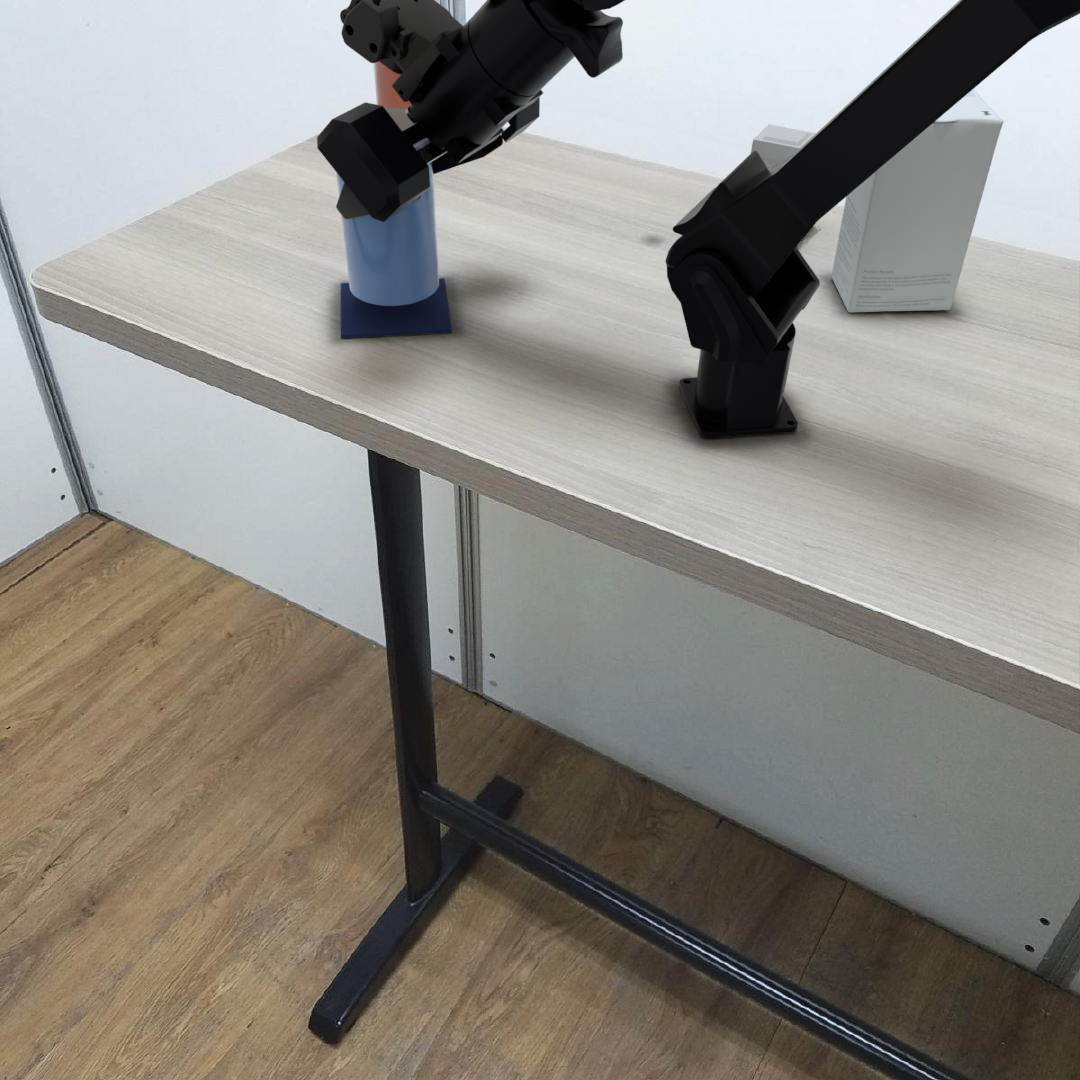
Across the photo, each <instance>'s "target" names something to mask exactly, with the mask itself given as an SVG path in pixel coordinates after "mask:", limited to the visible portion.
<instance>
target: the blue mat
mask: <svg viewBox="0 0 1080 1080" xmlns="http://www.w3.org/2000/svg"><path fill="white" fill-rule="evenodd" d="M446 286H447V285H446V281H445V278H444V277H441V278H440V277H439V286H438V289H437V290H436V291H435V293H434V294H432V295H431V296H430V297H428V298H426V299H424V300H422V301H419V302H416V303H412V304H407V305H400V306H382V305H375V304H370V303H367V302H364V301H362V300H360V299H358V298H357V297H355V296H354V295H353V294H352V292H351V291H350V287H349V282H341V283H340V339H343V340H344V339H362V338H377V337H378V338H379V337H380V338H381V337H396V336H397V337H399V336H415V335H416V336H417V335H434V334H435V335H436V334H452V333H453V328H452V321H451V314H450V308H449V307H450V306H449V301H448V294H447V287H446Z"/></svg>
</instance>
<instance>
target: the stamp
mask: <svg viewBox="0 0 1080 1080" xmlns="http://www.w3.org/2000/svg"><path fill="white" fill-rule="evenodd" d="M816 133H817V132H811V131H806V130H801V129H797V128H792V127H786V126H780V125H776V124H770V123H768V125H766V126H765V127H764V128H763V129H762V130H761V131H760V132H759V133H758V134H757V135H756V136H755V137H754V138H753V139H752V144H751V148H750V149H751V150H750V154H751V153H752V152H753V151H754V150H755V151H757V152H758V154H759V155H760V157H761V159H762V160H763V162H764V163H765V165H766V167H767V168H769V167H771V166H773V165H775V164H777V163H779V162H781V161H782V160H784V159H786V158H788V157H790V156H791V155H793V154H794V153H796V152H797V151H798V150H799V149H800V148H801V147H802V146H803V145H804V144H805V143H807V142H808V141H809V140H810V139H811V138H812V137H813V136H814V135H815V134H816Z"/></svg>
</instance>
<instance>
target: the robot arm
mask: <svg viewBox="0 0 1080 1080" xmlns="http://www.w3.org/2000/svg"><path fill="white" fill-rule="evenodd" d="M625 1H626V0H485V2H484V3H483V4H482V5H481V6H480V7H479V9H477V11H476V12H475V13H474V14H473V15H472V17H470V19H468V20H467V22H466V23H465V24H462V23H460V22H459V21H458V20H457V19H456V18H454V17H453V16H452V13H451V12H450V11H449V10H448V9H447V8H445V7H444V6H443V5H441V4H440V3H439V2H437V1H436V0H350V3H349V5H348V6H347V7H346V8H344V9H342V10H340V13H339V18H340V19H339V20H340V21H341V23H342V28H341V32H340V33H341V37H342V40H343V42H344V44H345V45H346V46H347V47H349V48H350V49H351V50H352V51H354V52H355V53H357V54H358V55H359V56H360V57H361V58H363V59H364V60H366V61H367V62H368V63H370V64H374V63H375V62H378V61H379V62H380V63H382V64H383V65H384V66H386V67H387V68H388V69H390V70H391V71H393V72H395V73H397V74H400V75H401V76H400V77H399V78H398V79H397V80H396V81H395V82H394V84H393V85H392V87H393V88H394V90H395V91H396V92H397V94H398V95H399V96H400V98H401V99H402V100H403V101H404V102H407V101H409V102H410V103H411V104H412V105H411V106H410V107H408V108H407V109H406V111H405V113H406V115H407V117H408V118H409V119H410V120H411V121H412V122H413V123H414V125H413V126H411V127H409V128H407V129H405V130H404V131H402V130H401V129H400V128H399V126H398V125H397V124H396V123H395V121H394V120H393V119H392V117H391V116H390V115H389V113H388V112H387V111H386V109H385V108H384V107H383V106H380V105H377V103H370V102H365V101H364V102H363V103H361V104H359V105H357V106H355V107H353V108H351V109H349V110H346V111H345V112H343V113H341V114H340V115H337V116H336V117H334V118H331V120H330V121H329V122H328V123H327V124H326V126H325V127H324V128H323V129H322V131H321V132H320V133H319V134H318V135H317V137H316V145H317V146H316V147H317V150H318V151H319V152H320V154H321V155H322V156H323V157H324V158H325V160H326V161H327V163H328V164H329V165H330V166H331V167H332V168H333V170H334V171H335V173H336V172H337V173H336V175H337V174H338V175H339V176H340V177H341V179H342V180H343V181H344V184H343V187H342V190H341V193H340V196H339V195H338V199H337V202H336V205H335V208H336V210H337V211H338V212H339V214H340V216H341V215H342V216H343V217H344V218H345V219H352V218H357V217H362V216H366V215H370V216H371V217H372V218H374V219H376V220H379V221H382V222H385V221H386V220H388V219H389V218H391V217H393V216H394V215H396V214H397V213H399V212H400V211H402V210H403V209H405V208H406V207H408V206H409V205H411V204H412V203H414V202H415V201H417V200H418V199H420V198H421V195H422V194H423V193H424V192H425V191H426V190H427V189H428V188H429V187H430V176H429V166H428V164H429V163H430V162H432V161H433V175H435V174H438V173H442V172H444V171H447V170H451V169H453V168H456V167H458V166H462V165H465V164H467V163H471V162H473V161H476V160H479V159H482V158H485V157H486V156H488V155H489V154H492V152H494V151H496V150H497V149H499V148H500V147H501V146H503V144H504V143H508V142H509V141H511V140H513V139H514V138H516V137H517V136H519V135H520V134H522V133H524V132H525V131H526V130H527V129H528V128H529V127H530V126H531V125H533V123H534V122H536V120H538V118H540V113H541V112H540V107H541V105H540V104H541V102H540V101H541V100H540V97H541V96H542V95H544V91H543V90H542V89H543V88H544V87H545V86H546V85H547V84H549V82H550V81H551V80H553V79H554V78H555V76H557V75H558V74H559V73H560V72H561V71H562V70H563V69H564V68H565V67H566V66H567V65H568V64H569V63H570V62H572V61H573V59H574V58H575V59H576V60H577V62H578V63H579V65H580V66H581V67H582V69H583V70H584V71H585V73H586V74H587V76H589V77H590V78H592V79H593V78H596V77H599V76H600V75H602V74H603V73H605V72H606V71H608V70H610V69H611V68H613V67H614V66H616V65H617V64H619V63H621V61H623V57H624V56H623V55H624V54H623V41H622V35H621V33H622V28H623V25H624V20H623V19H622V17H620V16H611V15H608V14H606V13H605V12H603V10H610V9H612V8H615V7H616V6H618V5H620V4H622V3H623V2H625ZM1078 15H1080V0H958V1H957V2H956V3H955V4H954V5H953V6H951V8H949V9H948V10H947V11H946V12H945V13H944V14H943V15H942V16H941V17H940V18H939V19H938V20H936V21H935V22H934V23H933V24H932V25H931V26H930V27H929V28H927V30H926V31H925V32H924V33H922V35H920V36H919V37H918V38H917V39H916V40H915V41H914V42H913V43H912V44H911V45H910V46H908V48H907V49H906V50H904V51H903V52H902V53H901V54H900V55H899V56H898V57H897V58H896V59H894V61H893V62H892V63H890V64H889V65H888V66H887V67H886V68H885V69H884V70H882V72H880V74H879V75H877V76H876V77H875V78H874V79H873V80H872V81H870V83H869V84H868V85H866V86H865V87H864V88H863V89H862V90H861V91H860V92H859V93H858V94H857V95H856V96H855V97H854V98H852V100H850V101H849V102H848V103H847V104H846V105H845V106H844V107H842V109H840V111H839V112H838V113H837V114H835V115H834V116H833V117H832V118H831V119H830V120H829V121H827V123H826V124H825V125H823V127H821V128H820V129H819V130H818V131H817V132H815V133H816V134H815V135H814V136H813V137H812V138H811V139H810V140H809V141H808V142H807V143H805V144H804V145H803V146H802V147H801V148H800V149H799V150H798V151H797V152H796V153H794V154H793V155H791V156H790V157H788V158H786V159H784V160H782V161H781V162H779V163H777V164H775V165H773V166H771V167H769V168H767V167H766V165H765V163H764V162H763V160H762V159H761V157H760V155H759V154H758V152H757V151H755V150H754V151H753V152H752V153H751V152H750V154H749V155H747V157H745V159H743V161H742V162H740V163H739V164H738V165H737V166H736V167H735V168H734V169H733V170H732V171H731V172H730V173H729V174H727V176H726V177H725V178H724V179H723V180H721V182H719V183H718V184H717V186H716V187H714V188H712V189H711V190H710V191H709V192H708V193H707V194H706V195H705V196H704V197H703V198H702V199H701V200H700V201H699V202H698V203H697V204H696V205H695V206H693V207H692V208H691V210H690V211H688V212H687V213H686V214H685V215H684V216H683V217H682V218H681V219H680V220H679V221H678V222H677V223H676V224H675V225H674V226H673V227H672V231H673V233H675V234H678V235H681V236H680V237H678V238H677V240H675V242H674V243H673V244H672V245H671V247H670V248H669V250H668V251H667V255H666V258H665V265H666V277H667V280H668V284H669V287H670V289H671V291H672V293H673V294H674V296H675V297H676V298H677V300H678V301H679V303H680V306H681V310H682V314H683V319H684V323H685V327H686V331H687V336H688V340H689V344H690V346H691V347H692V348H694V349H697V350H700V352H699V360H698V367H697V374H696V376H695V377H684V378H681V379H679V383H678V384H679V385H678V389H679V390H680V392H681V395H682V397H683V399H684V402H685V404H686V407H687V409H688V411H689V414H690V416H691V419H692V420H693V423H694V426H695V428H696V430H697V433H698V435H699V436H700V437H702V438H704V439H714V438H715V439H716V438H717V439H718V438H729V437H731V438H732V437H744V436H745V437H746V436H747V437H748V436H760V435H761V436H762V435H777V434H791V433H795V432H797V431H798V427H799V421H798V420H797V418H796V416H795V415H794V413H793V411H792V409H791V407H790V406H789V404H788V402H787V399H786V398H785V396H784V395H785V389H786V385H787V379H788V374H789V370H790V365H791V360H792V359H791V358H792V354H793V350H794V349H793V348H794V344H795V339H796V335H797V334H796V333H797V331H796V327H795V324H794V322H795V320H796V318H797V317H798V316H799V314H800V313H801V312H802V311H803V310H805V308H806V307H807V306H808V304H809V302H811V299H812V298H813V296H814V295H815V293H816V292H817V290H818V289H819V287H820V285H821V281H820V279H819V277H818V276H817V275H816V274H815V273H816V272H814V271H813V269H812V268H811V266H810V265H809V262H807V260H806V259H805V258H804V256H803V254H802V253H801V252H800V250H799V249H798V246H799V244H800V243H801V242H802V241H803V240H804V239H805V237H806V236H807V234H809V232H810V231H811V230H812V229H813V227H814V226H815V225H816V224H817V223H818V222H819V221H820V219H822V218H824V216H825V215H827V214H828V213H829V212H830V211H831V210H832V209H834V208H835V207H836V206H837V205H839V203H841V202H842V201H843V200H845V199H846V196H848V195H849V194H850V193H851V192H852V191H853V190H855V189H856V188H857V187H858V186H859V185H861V184H862V183H863V182H864V181H865V180H866V179H868V178H869V177H870V176H871V175H872V174H874V173H875V172H876V171H877V170H878V169H879V168H881V167H882V166H883V165H884V164H885V163H887V162H888V161H889V160H890V159H891V158H892V157H894V156H895V155H896V154H897V153H898V152H899V151H901V150H902V149H903V148H904V147H905V146H907V145H908V144H909V143H910V142H911V141H912V140H914V139H915V138H916V137H917V136H918V135H920V134H921V133H922V132H923V131H924V130H925V129H927V128H928V127H929V126H930V125H931V124H933V123H934V122H935V121H936V120H937V119H938V118H940V117H941V116H942V115H943V114H944V113H945V112H947V111H948V110H949V109H950V108H951V107H953V106H954V105H955V104H956V103H957V102H958V101H960V100H961V99H962V98H963V97H964V96H966V95H967V94H968V93H969V92H970V91H971V90H975V88H976V87H978V86H979V85H980V84H981V83H982V82H983V81H985V80H986V79H987V78H988V77H990V76H991V75H992V74H993V73H994V72H995V71H996V70H997V69H999V68H1000V67H1001V66H1002V65H1004V63H1006V62H1007V61H1008V60H1009V59H1011V58H1012V57H1013V56H1014V55H1015V54H1016V53H1018V52H1019V51H1020V50H1021V49H1023V48H1024V46H1026V45H1027V44H1028V43H1030V42H1031V41H1032V40H1035V39H1036V38H1037V37H1038V36H1040V35H1042V34H1044V33H1045V32H1047V31H1049V30H1051V29H1052V28H1055V27H1056V26H1059V25H1061V24H1063V23H1065V22H1067V21H1068V20H1070V19H1072V18H1074V17H1076V16H1078ZM415 123H416V124H415ZM506 124H509V125H508V126H507V127H506V128H505V129H503V127H504V126H505V125H506ZM428 141H431V142H430V143H429V144H427V145H425V146H423V147H422V148H420V149H419V150H418V151H417V150H416V149H417V148H418V147H420V146H422V145H423V144H425V143H427V142H428Z"/></svg>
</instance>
